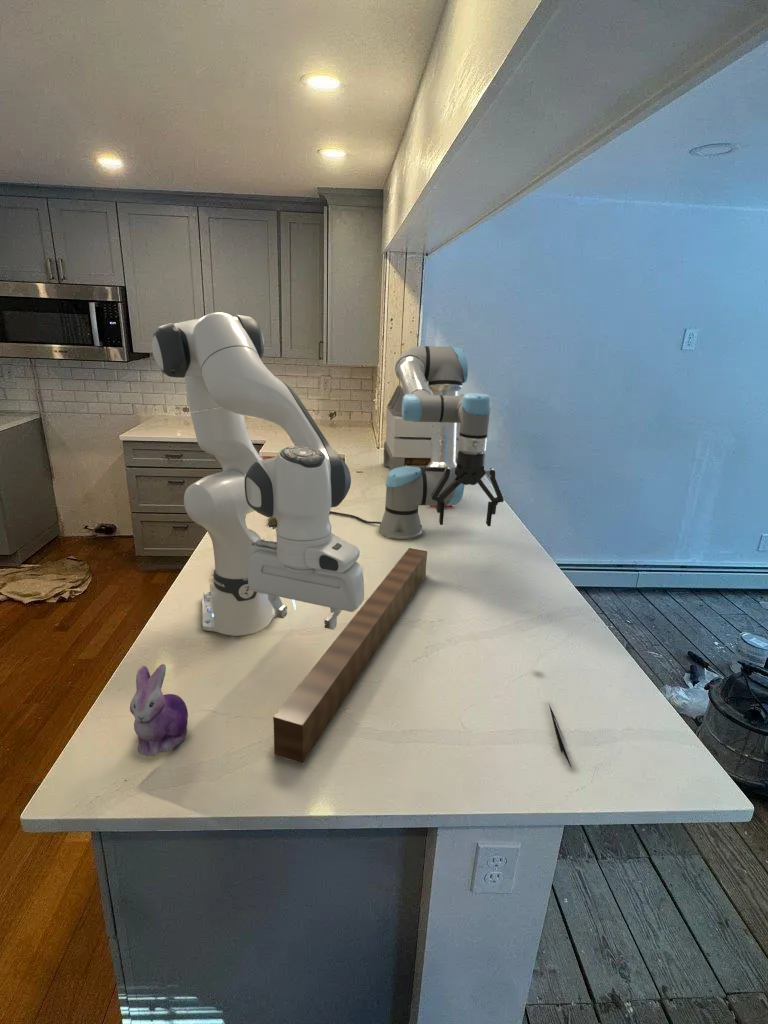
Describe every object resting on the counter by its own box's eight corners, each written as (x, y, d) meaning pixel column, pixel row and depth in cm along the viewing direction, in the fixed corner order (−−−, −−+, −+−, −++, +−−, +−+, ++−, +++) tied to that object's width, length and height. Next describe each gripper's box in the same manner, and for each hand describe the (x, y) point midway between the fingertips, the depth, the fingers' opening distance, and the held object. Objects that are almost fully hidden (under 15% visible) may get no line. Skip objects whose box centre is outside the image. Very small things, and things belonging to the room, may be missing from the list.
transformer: (382, 463, 289) (386, 382, 275) (445, 464, 293) (451, 384, 279) (390, 482, 257) (394, 392, 243) (460, 483, 261) (468, 394, 247)
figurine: (137, 767, 96) (127, 693, 90) (132, 728, 104) (122, 659, 99) (195, 750, 100) (189, 678, 95) (185, 714, 108) (179, 646, 103)
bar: (407, 572, 171) (409, 547, 168) (425, 576, 169) (427, 551, 166) (274, 754, 100) (273, 716, 97) (302, 763, 98) (302, 725, 95)
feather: (538, 678, 126) (544, 672, 125) (570, 771, 99) (578, 764, 99) (532, 674, 126) (537, 668, 125) (563, 766, 99) (570, 759, 98)
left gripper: (238, 544, 93) (242, 618, 97) (353, 565, 86) (352, 643, 91) (258, 531, 98) (262, 601, 103) (368, 550, 92) (366, 624, 97)
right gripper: (427, 453, 151) (422, 527, 158) (520, 456, 152) (511, 530, 159) (424, 446, 158) (419, 518, 165) (513, 449, 159) (504, 520, 166)
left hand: (305, 621), depth 97 cm, fingers open, 8 cm apart
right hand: (464, 524), depth 162 cm, fingers open, 13 cm apart
